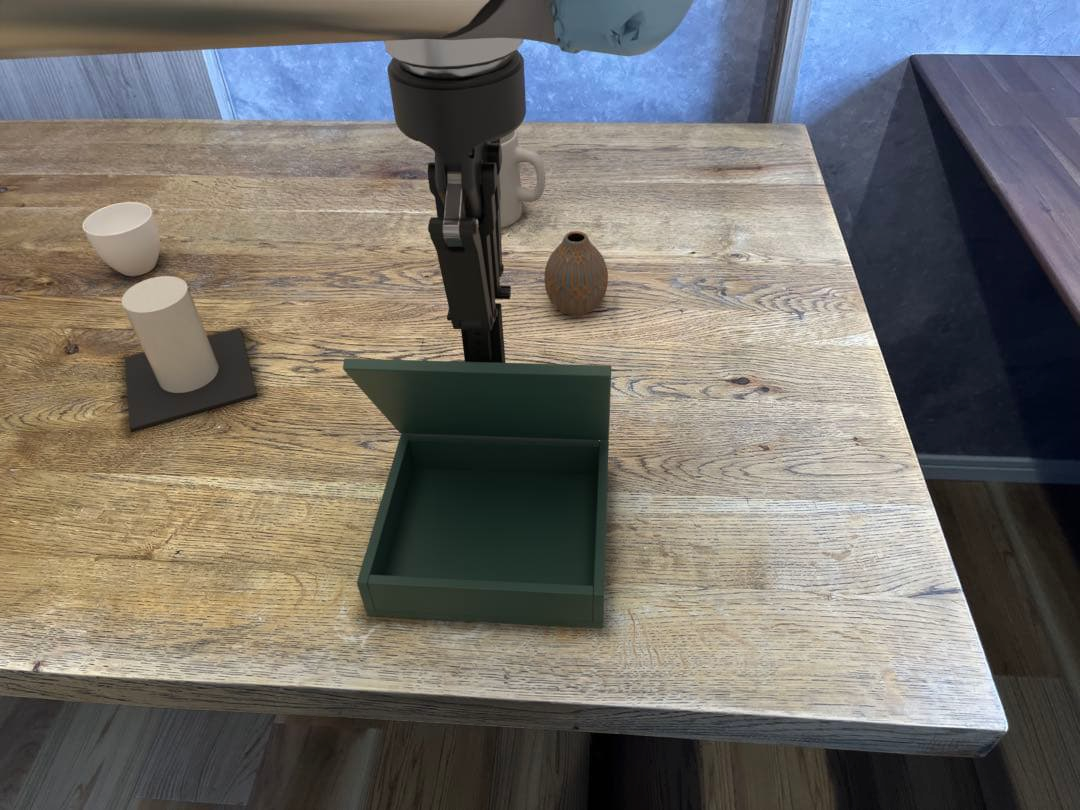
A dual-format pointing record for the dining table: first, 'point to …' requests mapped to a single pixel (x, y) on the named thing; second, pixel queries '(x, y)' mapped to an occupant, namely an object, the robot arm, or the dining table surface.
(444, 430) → the lid
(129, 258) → the cup
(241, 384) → the mat
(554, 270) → the vase
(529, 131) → the dining table surface
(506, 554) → the box
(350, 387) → the dining table surface
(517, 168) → the mug
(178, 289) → the beige cylinder
